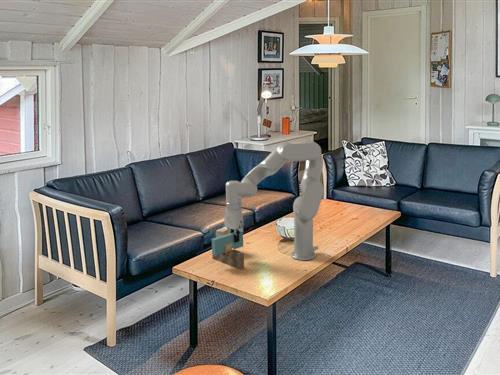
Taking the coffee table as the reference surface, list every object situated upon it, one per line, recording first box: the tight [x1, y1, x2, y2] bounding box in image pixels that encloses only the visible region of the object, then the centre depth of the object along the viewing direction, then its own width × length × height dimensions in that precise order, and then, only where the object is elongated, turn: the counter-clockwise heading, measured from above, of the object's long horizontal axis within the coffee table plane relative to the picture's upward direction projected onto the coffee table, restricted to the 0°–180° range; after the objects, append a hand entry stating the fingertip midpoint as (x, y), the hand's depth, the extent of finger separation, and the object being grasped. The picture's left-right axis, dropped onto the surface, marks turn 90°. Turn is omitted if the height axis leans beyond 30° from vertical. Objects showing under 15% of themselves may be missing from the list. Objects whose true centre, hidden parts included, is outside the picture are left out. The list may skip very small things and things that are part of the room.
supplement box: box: [215, 226, 233, 254], centre depth 267 cm, size 8×5×13 cm, turn 148°
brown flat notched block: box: [211, 246, 245, 271], centre depth 252 cm, size 22×2×8 cm, turn 42°
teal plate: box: [211, 231, 244, 256], centre depth 251 cm, size 18×2×8 cm, turn 131°
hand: (234, 241), depth 253 cm, fingers closed on teal plate, 2 cm apart
